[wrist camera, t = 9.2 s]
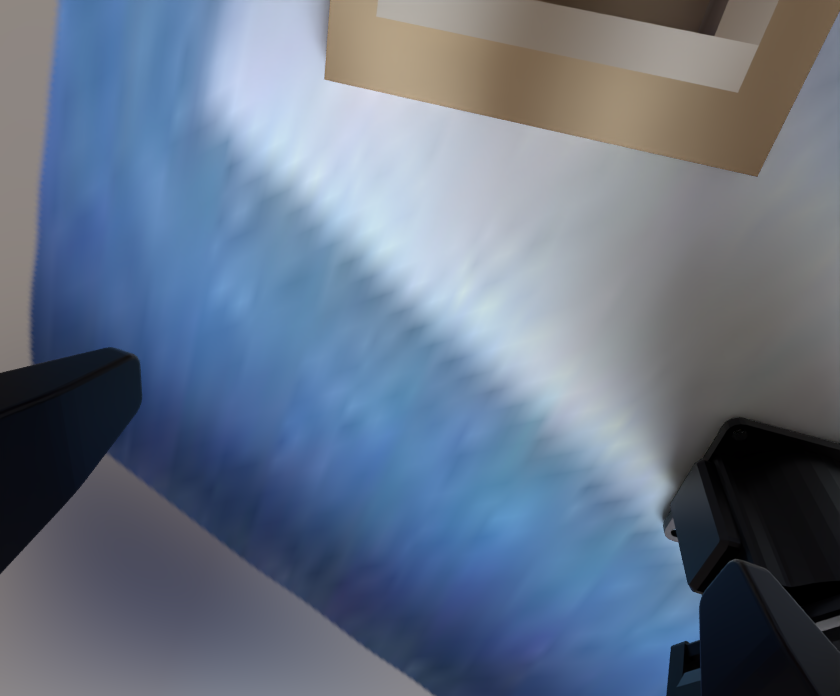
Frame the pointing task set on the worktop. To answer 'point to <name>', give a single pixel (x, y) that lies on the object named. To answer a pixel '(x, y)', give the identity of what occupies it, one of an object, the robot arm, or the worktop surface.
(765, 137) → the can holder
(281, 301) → the worktop surface
